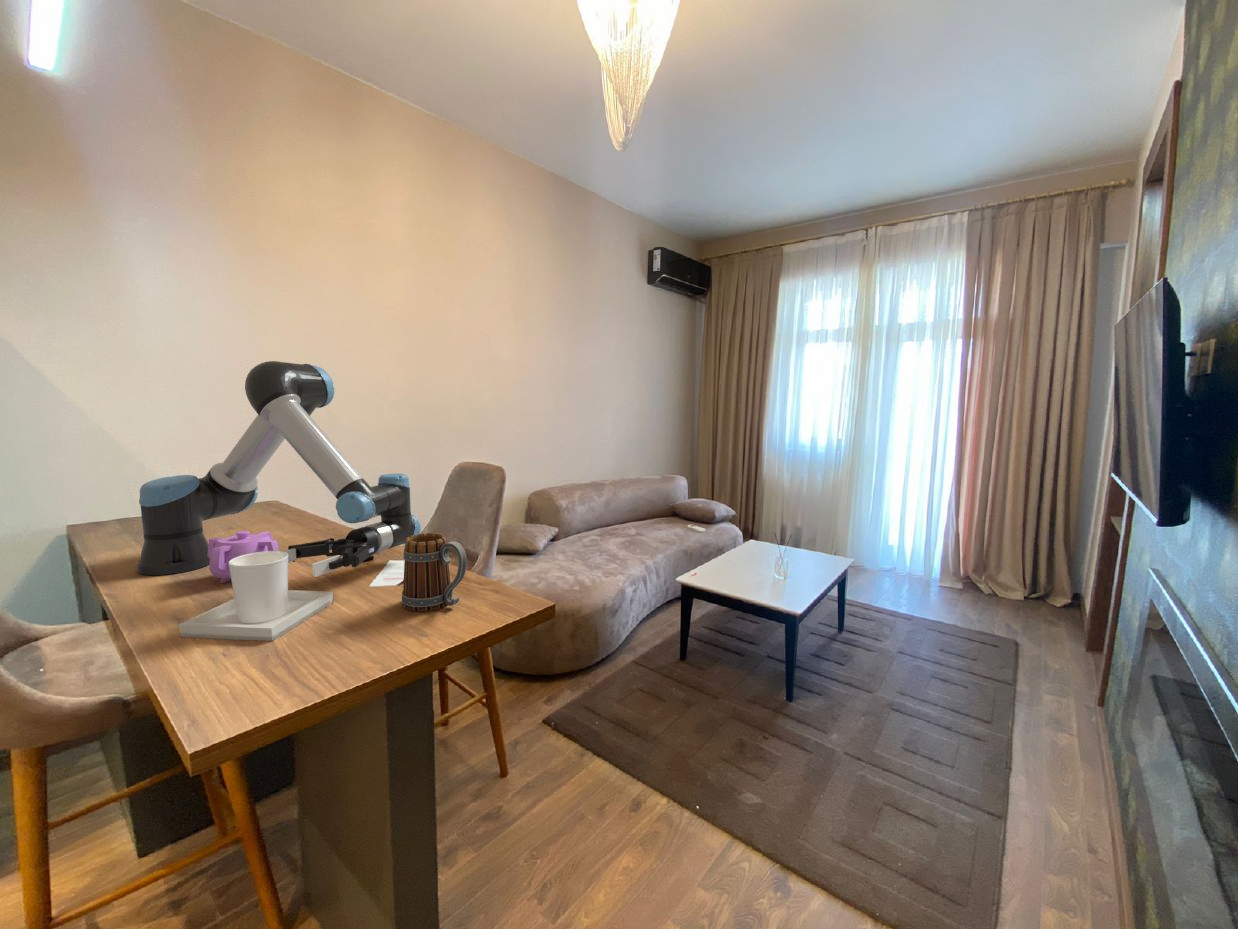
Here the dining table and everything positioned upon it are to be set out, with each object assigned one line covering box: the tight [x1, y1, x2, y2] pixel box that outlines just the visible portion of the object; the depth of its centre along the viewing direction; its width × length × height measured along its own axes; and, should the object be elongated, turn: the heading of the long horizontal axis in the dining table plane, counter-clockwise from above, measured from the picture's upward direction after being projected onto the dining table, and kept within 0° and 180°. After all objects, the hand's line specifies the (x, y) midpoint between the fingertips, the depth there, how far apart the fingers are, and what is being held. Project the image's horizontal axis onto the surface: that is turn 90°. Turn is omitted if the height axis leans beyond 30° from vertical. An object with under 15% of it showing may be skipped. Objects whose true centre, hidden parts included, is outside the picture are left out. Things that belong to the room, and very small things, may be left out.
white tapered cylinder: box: [228, 550, 289, 624], centre depth 101 cm, size 10×10×12 cm
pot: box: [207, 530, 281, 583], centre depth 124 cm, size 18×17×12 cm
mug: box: [401, 532, 468, 613], centre depth 109 cm, size 16×11×15 cm
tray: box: [178, 589, 334, 642], centre depth 102 cm, size 18×18×2 cm
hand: (289, 566), depth 107 cm, fingers open, 13 cm apart
